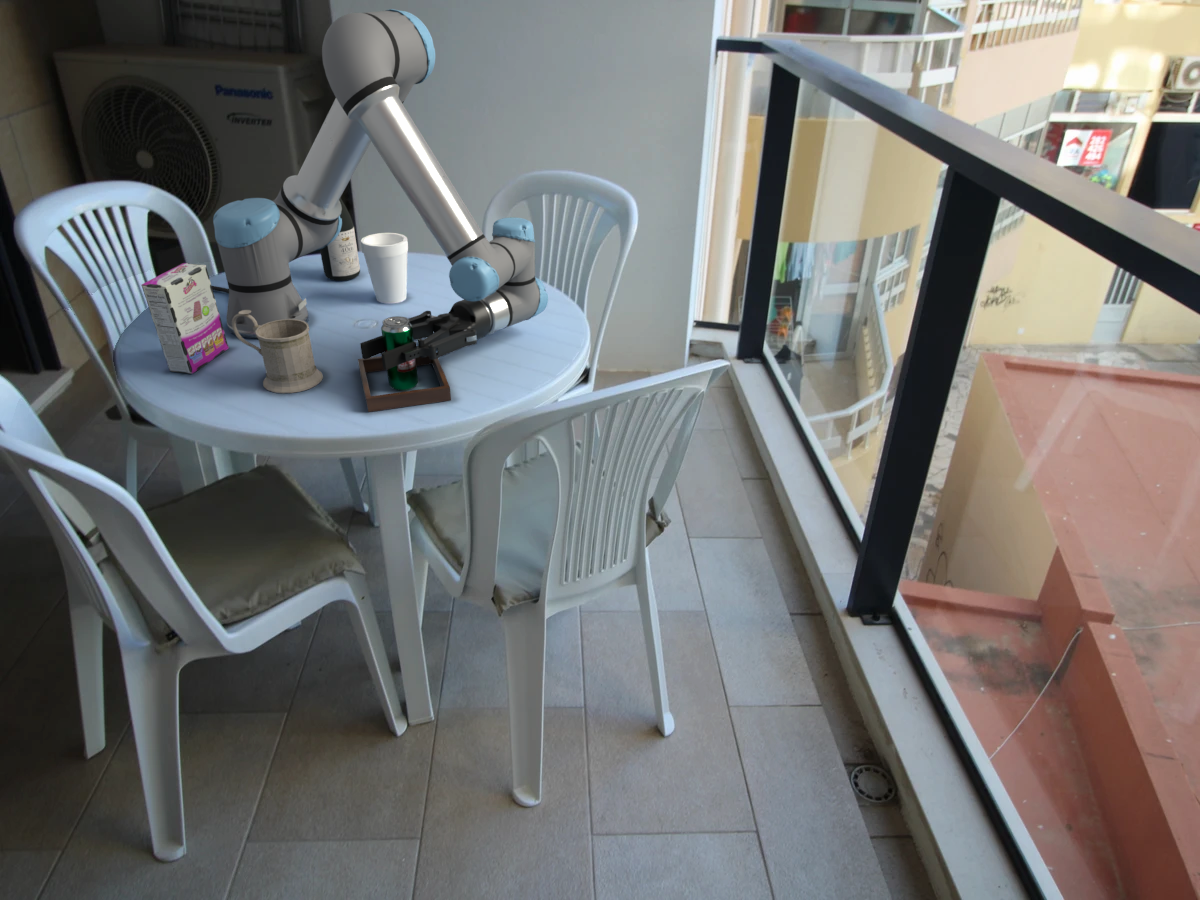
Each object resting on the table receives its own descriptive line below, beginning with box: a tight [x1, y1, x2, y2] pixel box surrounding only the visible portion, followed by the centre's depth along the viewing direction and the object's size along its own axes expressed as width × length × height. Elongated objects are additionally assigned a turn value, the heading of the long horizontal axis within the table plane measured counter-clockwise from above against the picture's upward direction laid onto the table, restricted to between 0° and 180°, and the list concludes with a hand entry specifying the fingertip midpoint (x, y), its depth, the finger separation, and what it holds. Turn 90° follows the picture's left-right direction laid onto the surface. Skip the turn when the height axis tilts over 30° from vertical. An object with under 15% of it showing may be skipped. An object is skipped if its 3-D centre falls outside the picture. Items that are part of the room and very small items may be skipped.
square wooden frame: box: [357, 355, 452, 413], centre depth 134 cm, size 16×14×2 cm
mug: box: [232, 310, 324, 394], centre depth 133 cm, size 14×10×12 cm
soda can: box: [380, 315, 419, 392], centre depth 132 cm, size 5×5×12 cm
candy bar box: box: [140, 262, 230, 375], centre depth 137 cm, size 11×5×16 cm, turn 168°
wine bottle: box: [313, 139, 361, 282], centre depth 172 cm, size 8×8×30 cm
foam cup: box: [360, 232, 409, 305], centre depth 165 cm, size 10×9×13 cm
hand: (373, 356), depth 127 cm, fingers closed on soda can, 5 cm apart
